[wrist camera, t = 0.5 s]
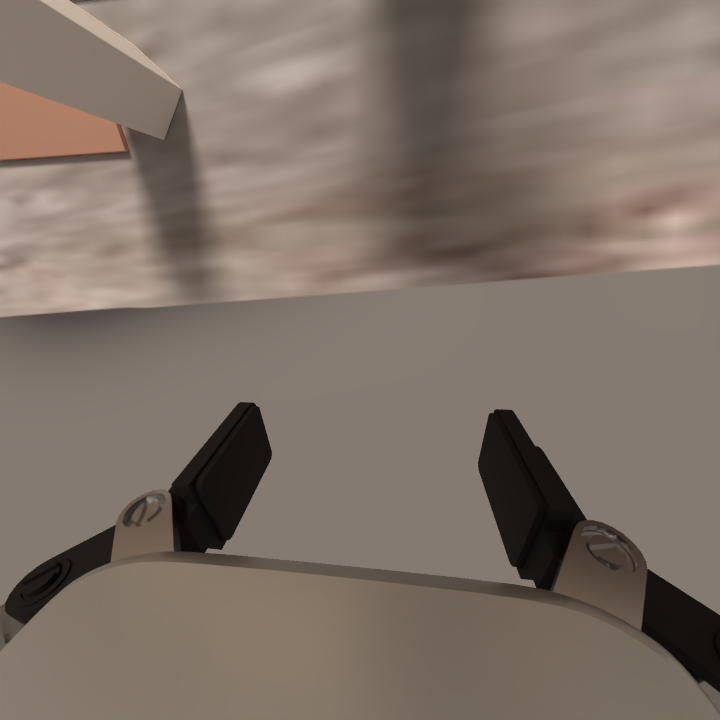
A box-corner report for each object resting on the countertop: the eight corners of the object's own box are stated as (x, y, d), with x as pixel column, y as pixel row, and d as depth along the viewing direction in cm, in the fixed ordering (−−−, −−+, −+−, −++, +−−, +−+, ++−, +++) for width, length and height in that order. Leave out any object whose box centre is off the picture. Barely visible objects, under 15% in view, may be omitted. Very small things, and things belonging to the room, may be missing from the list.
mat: (-60, 56, 32) (-68, 54, 31) (90, 38, 29) (85, 34, 29) (-5, 161, 36) (-11, 160, 36) (129, 151, 34) (125, 150, 33)
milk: (134, 44, 29) (-386, -319, 10) (184, 90, 31) (-184, -146, 11) (118, 102, 32) (-322, -95, 12) (165, 142, 33) (-163, 24, 14)
